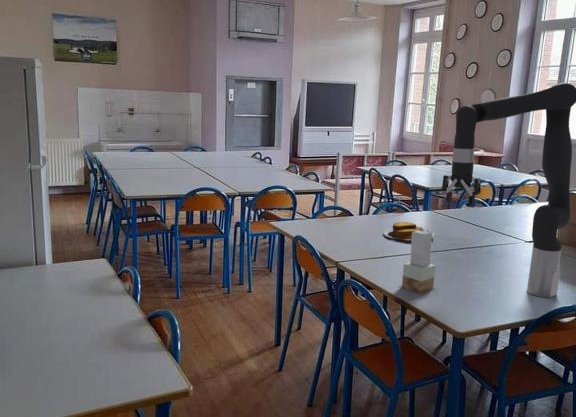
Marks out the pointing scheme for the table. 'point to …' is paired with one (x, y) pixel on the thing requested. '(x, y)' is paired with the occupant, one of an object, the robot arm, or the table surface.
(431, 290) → the mat
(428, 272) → the upper block
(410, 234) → the food on plate
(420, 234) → the skincare box
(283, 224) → the table surface
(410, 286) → the lower block
